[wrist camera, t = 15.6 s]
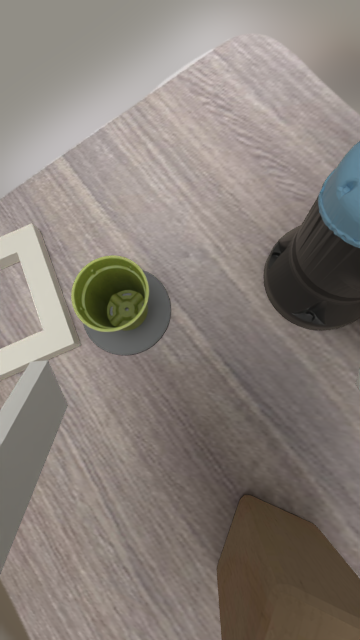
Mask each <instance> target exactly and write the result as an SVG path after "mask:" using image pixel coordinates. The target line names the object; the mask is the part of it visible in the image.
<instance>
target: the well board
mask: <svg viewBox="0 0 360 640" xmlns="http://www.w3.org/2000/svg"><path fill="white" fill-rule="evenodd" d="M18 262H21V265H22V268H23V271H24V274H25V277H26V280H27V283H28V286H29V289H30V292H31V295H32V298H33V302H34V305H35V308H36V311H37V314H38V317H39V320H40V323H41V326H42V329H43V331H40V332H38V333H36V334H34V335H31V336H29V337H27V338H24V339H22V340H20V341H18V342H15V343H13V344H11V345H8V346H6V347H4V348H1V349H0V381H1V380H3V379H6V378H8V377H10V376H12V375H15V374H17V373H19V372H22V371H24V370H26V368H27V367H28V365H29V363H30V362H34V361H46V360H49V359H51V358H54V357H56V356H58V355H60V354H63V353H65V352H67V351H70V350H72V349H74V348H76V347H79V346H81V344H80V341H79V338H78V335H77V333H76V330H75V327H74V324H73V321H72V318H71V316H70V313H69V310H68V307H67V304H66V302H65V299H64V296H63V293H62V290H61V288H60V285H59V282H58V279H57V276H56V274H55V271H54V268H53V265H52V262H51V260H50V257H49V254H48V251H47V248H46V246H45V243H44V240H43V237H42V234H41V232H40V231H39V230H38V229H37V228H36V227H35V226H34V225H33V224H29V225H27V226H25V227H22V228H20V229H18V230H15V231H13V232H11V233H8V234H6V235H4V236H1V237H0V270H1V269H4V268H6V267H8V266H11V265H13V264H15V263H18Z"/></svg>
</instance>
